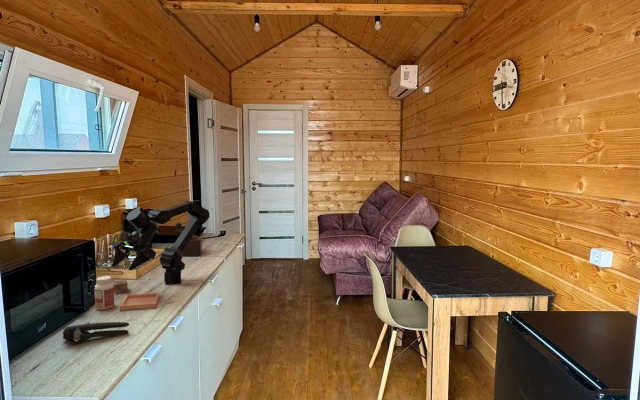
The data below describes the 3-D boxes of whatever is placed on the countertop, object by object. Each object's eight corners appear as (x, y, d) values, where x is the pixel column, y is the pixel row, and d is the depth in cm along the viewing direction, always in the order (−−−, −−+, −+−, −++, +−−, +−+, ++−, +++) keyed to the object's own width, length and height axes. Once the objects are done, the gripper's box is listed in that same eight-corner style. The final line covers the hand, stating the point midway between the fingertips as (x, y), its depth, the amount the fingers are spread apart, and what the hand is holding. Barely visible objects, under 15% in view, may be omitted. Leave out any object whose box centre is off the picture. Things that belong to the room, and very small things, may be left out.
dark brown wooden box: (202, 252, 227) (203, 222, 225) (200, 256, 216) (200, 225, 214) (175, 252, 225) (175, 222, 223) (171, 256, 214) (171, 225, 212)
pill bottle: (114, 302, 145) (114, 274, 144) (113, 308, 139) (113, 279, 138) (95, 305, 142) (95, 276, 141) (94, 311, 136) (93, 281, 135)
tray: (159, 296, 152) (159, 292, 152) (155, 308, 141) (155, 303, 141) (126, 299, 149) (126, 294, 149) (119, 310, 137) (119, 306, 137)
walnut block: (126, 288, 161) (126, 279, 160) (127, 292, 156) (127, 283, 156) (113, 290, 158) (112, 281, 158) (113, 294, 154) (113, 284, 153)
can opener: (60, 349, 110) (60, 330, 109) (64, 339, 116) (63, 321, 115) (129, 338, 118) (129, 320, 117) (129, 329, 124) (129, 312, 123)
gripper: (115, 221, 153) (90, 253, 144) (149, 225, 145) (124, 260, 136) (132, 237, 161) (109, 268, 152) (165, 242, 153) (143, 276, 144)
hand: (121, 268), depth 146 cm, fingers open, 9 cm apart
